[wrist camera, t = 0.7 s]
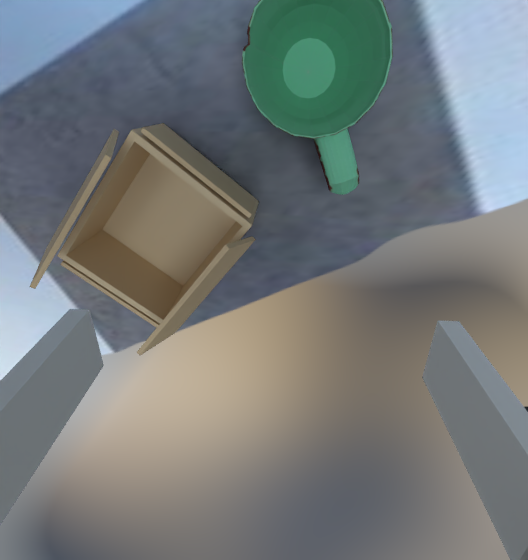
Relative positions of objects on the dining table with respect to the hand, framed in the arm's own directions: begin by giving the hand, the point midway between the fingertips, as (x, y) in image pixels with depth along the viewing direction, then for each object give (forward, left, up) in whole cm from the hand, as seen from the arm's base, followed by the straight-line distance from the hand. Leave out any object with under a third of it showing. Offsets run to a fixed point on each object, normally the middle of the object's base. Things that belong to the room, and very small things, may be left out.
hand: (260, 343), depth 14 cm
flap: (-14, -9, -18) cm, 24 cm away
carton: (-7, -9, -27) cm, 29 cm away
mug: (-3, +9, -27) cm, 28 cm away
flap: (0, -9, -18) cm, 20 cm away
